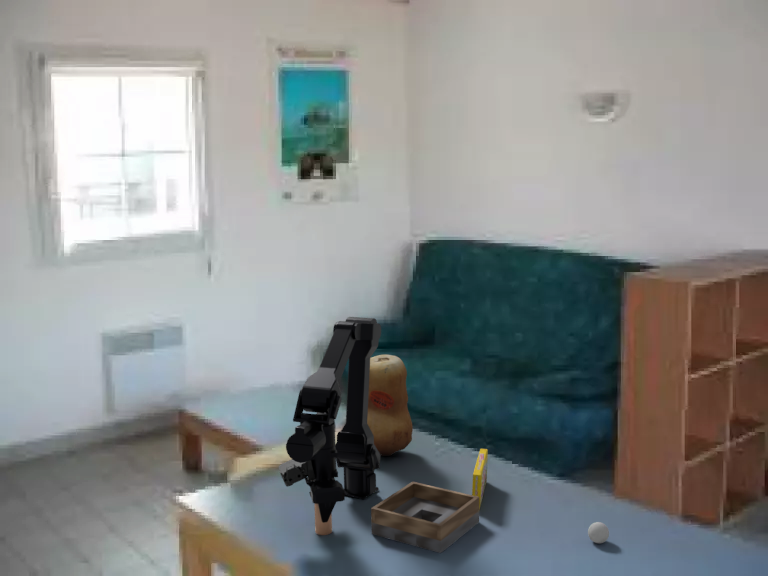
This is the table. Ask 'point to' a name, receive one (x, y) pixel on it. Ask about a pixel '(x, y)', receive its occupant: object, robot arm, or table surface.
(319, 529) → the peg
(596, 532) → the sports ball
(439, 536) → the bore box
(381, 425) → the butternut squash
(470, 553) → the table surface
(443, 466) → the table surface
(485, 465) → the candy box
